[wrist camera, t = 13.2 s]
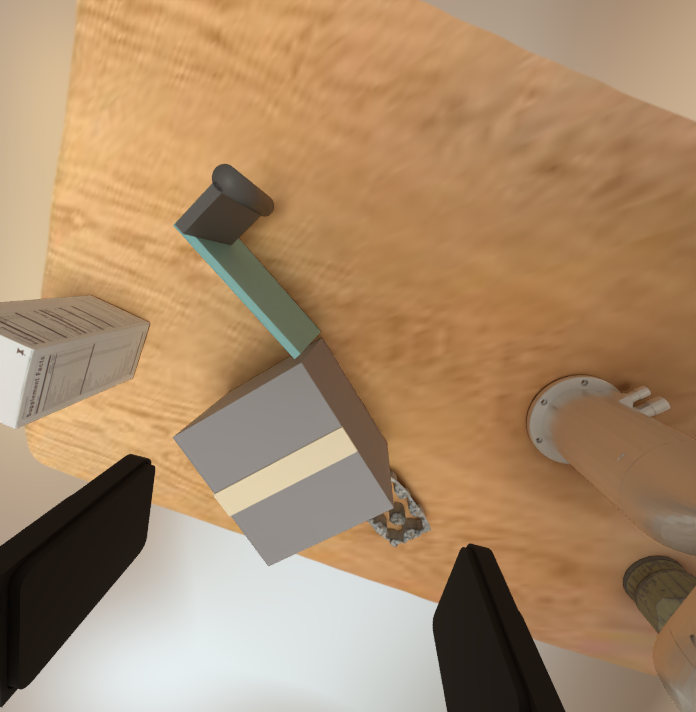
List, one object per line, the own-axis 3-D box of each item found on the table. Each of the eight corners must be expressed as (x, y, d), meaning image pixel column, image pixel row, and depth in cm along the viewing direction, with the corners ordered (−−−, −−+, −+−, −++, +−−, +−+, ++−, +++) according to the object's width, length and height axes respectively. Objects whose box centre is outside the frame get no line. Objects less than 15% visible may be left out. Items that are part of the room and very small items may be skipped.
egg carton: (350, 485, 51) (348, 502, 47) (391, 460, 49) (393, 476, 45) (388, 536, 52) (390, 557, 48) (430, 514, 51) (435, 534, 47)
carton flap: (359, 298, 43) (354, 308, 28) (316, 335, 45) (289, 364, 30) (275, 198, 41) (221, 153, 26) (233, 241, 43) (159, 221, 28)
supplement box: (90, 293, 46) (-64, 301, 30) (152, 321, 47) (33, 345, 30) (74, 353, 48) (-77, 392, 32) (133, 380, 49) (13, 432, 32)
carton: (322, 337, 45) (301, 362, 32) (387, 443, 48) (394, 509, 35) (228, 392, 48) (171, 438, 34) (295, 489, 51) (267, 568, 37)
